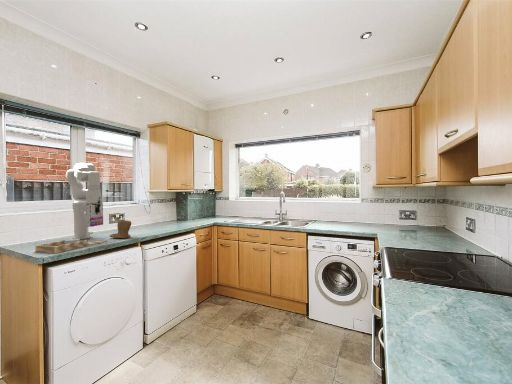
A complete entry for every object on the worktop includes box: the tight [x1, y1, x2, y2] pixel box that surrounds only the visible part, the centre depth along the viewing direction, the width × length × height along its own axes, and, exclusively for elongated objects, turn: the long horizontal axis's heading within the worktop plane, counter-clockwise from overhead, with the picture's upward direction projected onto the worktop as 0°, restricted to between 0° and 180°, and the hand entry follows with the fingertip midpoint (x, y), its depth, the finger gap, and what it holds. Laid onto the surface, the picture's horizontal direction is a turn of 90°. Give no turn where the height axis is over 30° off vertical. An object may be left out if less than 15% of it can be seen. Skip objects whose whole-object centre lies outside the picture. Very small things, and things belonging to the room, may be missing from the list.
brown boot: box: [108, 219, 132, 239], centre depth 203 cm, size 15×12×15 cm
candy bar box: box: [84, 203, 104, 228], centre depth 182 cm, size 11×5×16 cm, turn 168°
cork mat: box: [88, 239, 108, 246], centre depth 182 cm, size 14×7×1 cm, turn 166°
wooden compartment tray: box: [34, 238, 89, 254], centre depth 166 cm, size 22×17×4 cm
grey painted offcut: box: [64, 239, 81, 244], centre depth 172 cm, size 3×8×2 cm, turn 114°
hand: (94, 212), depth 182 cm, fingers closed on candy bar box, 5 cm apart
